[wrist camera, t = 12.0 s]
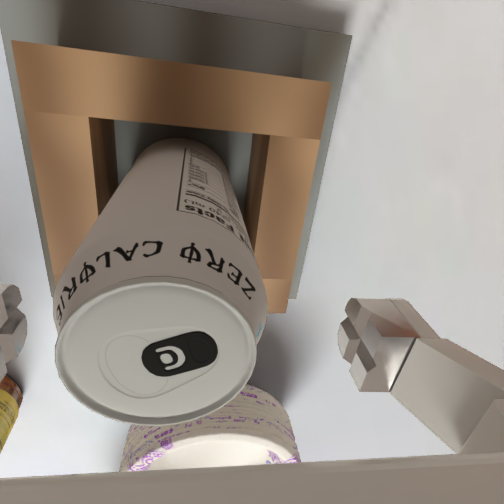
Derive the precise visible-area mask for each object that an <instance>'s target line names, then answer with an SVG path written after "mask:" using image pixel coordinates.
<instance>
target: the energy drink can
mask: <svg viewBox="0 0 504 504" xmlns="http://www.w3.org/2000/svg"><path fill="white" fill-rule="evenodd" d="M267 310H268V303H267V296H266V290H265V287H264V283H263V280H262V277H261V274H260V271H259V268H258V265H257V262H256V258H255V255H254V252H253V249H252V246H251V243H250V240H249V236H248V233H247V230H246V227H245V224H244V221H243V218H242V215H241V211H240V208H239V205H238V202H237V199H236V196H235V193H234V190H233V186H232V183H231V180H230V177H229V174H228V172H227V169H226V167H225V165H224V163H223V162H222V160H221V159H220V157H219V156H218V155H217V154H216V153H215V152H214V151H213V150H211V149H210V148H209V147H207V146H206V145H204V144H202V143H200V142H198V141H195V140H192V139H187V138H175V137H174V138H168V139H163V140H160V141H158V142H155V143H153V144H152V145H150V146H149V147H147V148H146V149H145V150H144V151H143V152H142V153H141V154H140V155H139V156H138V158H137V159H136V161H135V162H134V164H133V165H132V167H131V168H130V170H129V171H128V173H127V174H126V176H125V177H124V179H123V181H122V182H121V184H120V185H119V187H118V188H117V190H116V191H115V193H114V194H113V196H112V197H111V199H110V200H109V202H108V203H107V205H106V206H105V208H104V209H103V211H102V212H101V214H100V216H99V217H98V219H97V220H96V222H95V223H94V225H93V226H92V228H91V229H90V231H89V232H88V234H87V235H86V237H85V238H84V240H83V241H82V243H81V244H80V246H79V247H78V249H77V251H76V252H75V254H74V255H73V257H72V258H71V260H70V261H69V263H68V264H67V266H66V268H65V269H64V271H63V273H62V274H61V276H60V278H59V279H58V282H57V286H56V289H55V293H54V296H53V317H54V321H55V325H56V329H57V332H58V339H57V342H56V345H55V364H56V367H57V370H58V374H59V377H60V379H61V380H62V382H63V384H64V385H65V387H66V389H67V390H68V391H69V392H70V393H71V394H72V395H73V396H74V397H75V398H76V399H77V400H78V401H79V402H80V403H82V404H83V405H84V406H86V407H87V408H89V409H90V410H92V411H94V412H96V413H98V414H100V415H102V416H104V417H107V418H110V419H113V420H116V421H120V422H123V423H129V424H135V425H147V426H162V425H172V424H179V423H183V422H188V421H192V420H195V419H198V418H200V417H203V416H206V415H208V414H210V413H212V412H214V411H216V410H218V409H220V408H221V407H223V406H224V405H226V404H227V403H228V402H230V401H231V400H232V399H234V398H235V396H236V395H237V394H238V393H239V392H240V391H241V390H242V389H243V388H244V387H245V385H246V383H247V382H248V380H249V379H250V377H251V375H252V372H253V370H254V367H255V364H256V356H257V344H258V342H259V340H260V338H261V336H262V333H263V330H264V327H265V324H266V320H267Z"/></svg>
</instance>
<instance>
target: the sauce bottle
mask: <svg viewBox="0 0 504 504" xmlns="http://www.w3.org/2000/svg"><path fill="white" fill-rule="evenodd" d="M22 399H23V397H22V393H21V391H20V388H19V387H18V386H17V385H16V383H15V382H14V381H13V380H12V379H11V378H9V377H8V376H4V378H3V379H2V381H1V382H0V453H1V451H2V449H3V446H4V444H5V442H6V440H7V438H8V436H9V434H10V432H11V430H12V428H13V425H14V423H15V421H16V419H17V417H18V411H19V407H20V405H21V402H22Z"/></svg>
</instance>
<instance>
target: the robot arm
mask: <svg viewBox="0 0 504 504" xmlns="http://www.w3.org/2000/svg"><path fill="white" fill-rule="evenodd" d="M21 301H22V298H21V295H20V291H19V288H18V287H16V286H15V285H11V284H0V382H1V381H2V379H3V378H4V376H5V375H6V373H7V368H6V364H5V363H7V362H8V361H10V360H12V359H13V358H15V357H17V356H18V354H19V353H20V351H21V349H22V348H23V346H24V342H25V339H26V335H27V321H26V316H25V315H24V314H23V313H22V312H21V311H19V310H18V309H17V308H16V307H17V306H18V305H19V303H20V302H21ZM345 312H346V314H347V316H348V317H347V318H346V319H345V320H344V321H343V322H341V323H340V327H339V330H338V346H339V350H340V353H341V355H342V357H343V358H344V359H345V360H347V361H348V362H349V363H351V367H350V370H349V371H350V374H351V376H352V378H353V380H354V382H355V384H356V386H357V388H358V390H359V392H391V393H390V394H391V395H392V396H393V397H394V398H395V399H397V400H398V401H399V402H400V403H401V404H402V405H403V406H404V407H405V408H406V409H408V410H409V411H410V412H411V413H412V414H413V415H414V416H415V417H416V418H417V419H419V420H420V421H421V422H422V423H423V424H424V425H425V426H426V427H427V428H429V429H430V430H431V431H432V432H433V433H434V434H435V435H436V436H437V437H438V438H440V439H441V440H442V441H443V442H444V443H445V444H446V445H447V446H448V447H449V448H451V449H452V450H453V451H454V452H455V453H456V454H449V455H429V456H410V457H391V458H373V459H355V460H336V461H318V462H299V463H281V464H262V465H243V466H224V467H204V468H185V469H166V470H147V471H127V472H108V473H89V474H70V475H51V476H32V477H13V478H0V504H504V370H502V369H500V368H499V367H497V366H495V365H493V364H491V363H489V362H488V361H486V360H484V359H482V358H480V357H479V356H477V355H475V354H473V353H471V352H470V351H468V350H466V349H464V348H462V347H460V346H459V345H457V344H455V343H453V342H451V341H450V340H448V339H441V338H440V337H439V336H438V335H437V334H436V332H435V331H434V330H433V329H432V328H431V327H430V326H429V325H428V323H427V322H426V321H425V320H424V319H423V318H422V317H421V315H420V314H419V313H418V312H417V311H416V310H415V309H414V308H413V306H412V305H411V304H410V303H409V302H408V301H406V300H404V299H363V298H351V299H350V300H349V301H348V303H347V305H346V308H345Z"/></svg>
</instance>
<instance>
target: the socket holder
mask: <svg viewBox="0 0 504 504" xmlns="http://www.w3.org/2000/svg"><path fill="white" fill-rule="evenodd" d="M0 29H1V34H2V39H3V44H4V50H5V55H6V60H7V65H8V70H9V76H10V81H11V86H12V91H13V97H14V102H15V107H16V112H17V118H18V123H19V128H20V133H21V139H22V144H23V149H24V154H25V160H26V165H27V170H28V175H29V181H30V186H31V191H32V196H33V202H34V207H35V212H36V217H37V222H38V228H39V233H40V238H41V243H42V249H43V254H44V259H45V264H46V270H47V275H48V280H49V285H50V291H51V296H52V297H53V296H54V293H55V289H56V286H57V282H58V279H59V278H60V276H61V274H62V273H63V271H64V269H65V268H66V266H67V264H68V263H69V261H70V260H71V258H72V257H73V255H74V254H75V252H76V251H77V249H78V247H79V246H80V244H81V243H82V241H83V240H84V238H85V237H86V235H87V234H88V232H89V231H90V229H91V228H92V226H93V225H94V223H95V222H96V220H97V219H98V217H99V216H100V214H101V212H102V211H103V209H104V208H105V206H106V205H107V203H108V202H109V200H110V199H111V197H112V196H113V194H114V193H115V191H116V190H117V188H118V187H119V185H120V184H121V182H122V181H123V179H124V177H125V176H126V174H127V173H128V171H129V170H130V168H131V167H132V165H133V164H134V162H135V161H136V159H137V158H138V156H139V155H140V154H141V153H142V152H143V151H144V150H145V149H146V148H147V147H149V146H150V145H152V144H153V143H155V142H158V141H160V140H163V139H168V138H174V137H175V138H187V139H192V140H195V141H198V142H200V143H202V144H204V145H206V146H207V147H209V148H210V149H211V150H213V151H214V152H215V153H216V154H217V155H218V156H219V157H220V159H221V160H222V162H223V163H224V165H225V167H226V169H227V172H228V174H229V177H230V180H231V183H232V186H233V190H234V193H235V196H236V199H237V202H238V205H239V208H240V211H241V215H242V218H243V221H244V224H245V227H246V230H247V233H248V236H249V240H250V243H251V246H252V249H253V252H254V255H255V258H256V262H257V265H258V268H259V271H260V274H261V277H262V280H263V283H264V287H265V290H266V296H267V303H268V310H267V313H286V308H287V303H288V299H296V297H297V292H298V287H299V283H300V278H301V273H302V269H303V264H304V259H305V255H306V250H307V245H308V241H309V236H310V231H311V227H312V222H313V217H314V212H315V208H316V203H317V198H318V194H319V189H320V184H321V180H322V175H323V170H324V166H325V161H326V156H327V152H328V147H329V142H330V138H331V133H332V128H333V124H334V119H335V114H336V109H337V105H338V100H339V95H340V91H341V86H342V81H343V77H344V72H345V67H346V63H347V58H348V53H349V49H350V44H351V39H352V36H351V35H345V34H339V33H333V32H327V31H321V30H314V29H308V28H302V27H296V26H290V25H284V24H277V23H271V22H265V21H259V20H253V19H247V18H241V17H234V16H228V15H222V14H216V13H210V12H204V11H197V10H191V9H185V8H179V7H173V6H167V5H161V4H154V3H148V2H142V1H136V0H0Z"/></svg>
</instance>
